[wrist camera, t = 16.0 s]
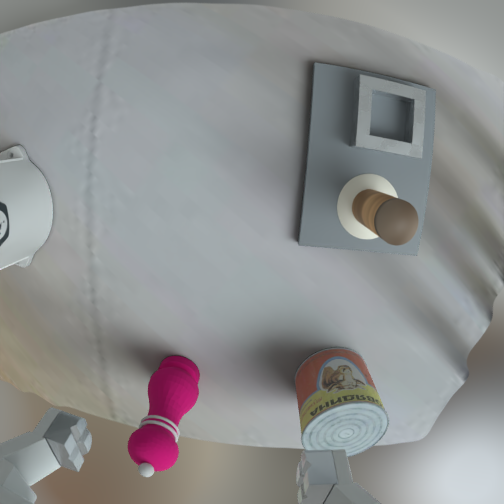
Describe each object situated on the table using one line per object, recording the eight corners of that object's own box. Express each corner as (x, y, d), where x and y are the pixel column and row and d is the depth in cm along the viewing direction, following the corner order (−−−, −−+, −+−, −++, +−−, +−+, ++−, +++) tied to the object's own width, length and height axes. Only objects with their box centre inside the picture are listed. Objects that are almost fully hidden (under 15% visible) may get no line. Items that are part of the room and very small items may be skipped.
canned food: (369, 342, 44) (395, 395, 32) (362, 397, 47) (381, 451, 35) (293, 351, 44) (301, 409, 33) (295, 406, 47) (301, 463, 36)
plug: (350, 223, 37) (374, 243, 29) (353, 187, 36) (380, 197, 27) (383, 226, 37) (414, 247, 29) (387, 191, 36) (421, 202, 27)
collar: (349, 146, 35) (355, 146, 32) (354, 78, 32) (360, 74, 30) (413, 158, 35) (421, 158, 32) (417, 93, 32) (425, 90, 30)
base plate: (297, 242, 39) (298, 245, 38) (313, 65, 33) (314, 62, 32) (413, 253, 39) (417, 256, 38) (431, 91, 33) (436, 89, 32)
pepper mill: (148, 366, 46) (101, 464, 27) (178, 344, 44) (137, 449, 25) (181, 395, 47) (150, 495, 28) (212, 375, 46) (190, 484, 27)
